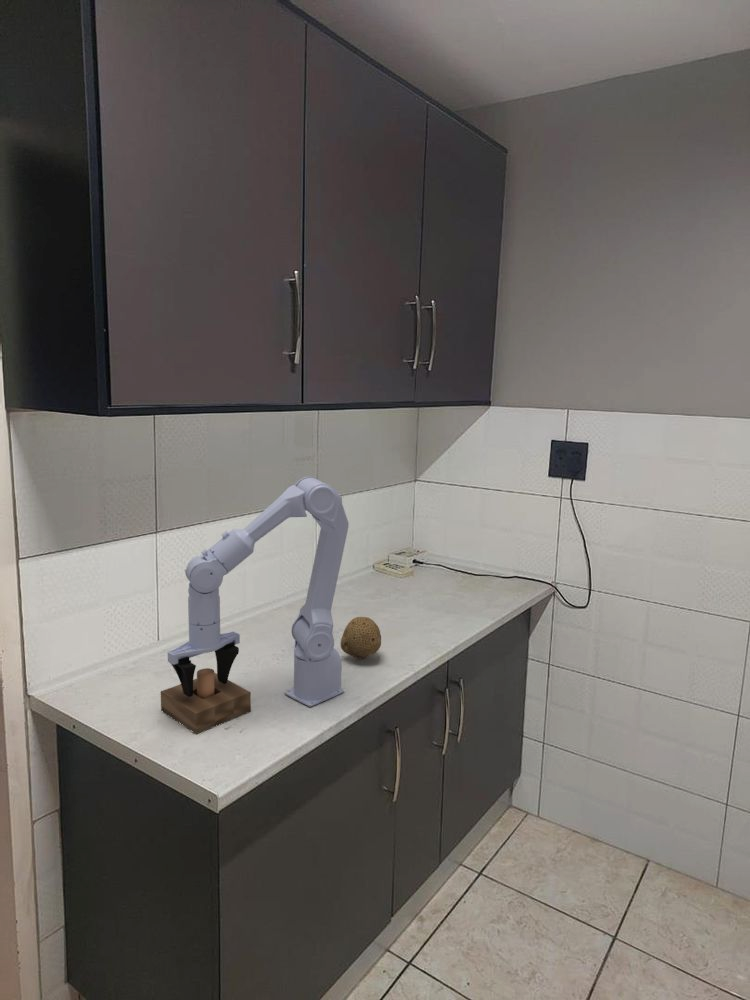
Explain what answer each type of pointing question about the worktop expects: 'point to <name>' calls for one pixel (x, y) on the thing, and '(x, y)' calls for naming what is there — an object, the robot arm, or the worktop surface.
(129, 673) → the worktop surface
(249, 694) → the walnut socket block
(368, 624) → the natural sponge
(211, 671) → the terracotta peg
